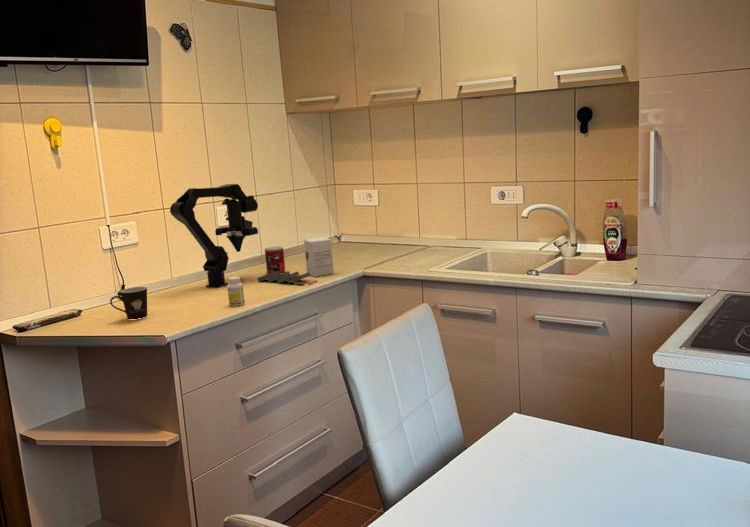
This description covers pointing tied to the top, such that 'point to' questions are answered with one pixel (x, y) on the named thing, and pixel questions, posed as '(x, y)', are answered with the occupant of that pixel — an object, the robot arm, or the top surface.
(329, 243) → the supplement box
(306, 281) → the domino
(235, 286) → the supplement bottle
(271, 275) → the domino
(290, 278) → the domino
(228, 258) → the robot arm
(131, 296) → the coffee mug
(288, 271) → the domino
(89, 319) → the top surface
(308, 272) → the domino
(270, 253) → the canned food
